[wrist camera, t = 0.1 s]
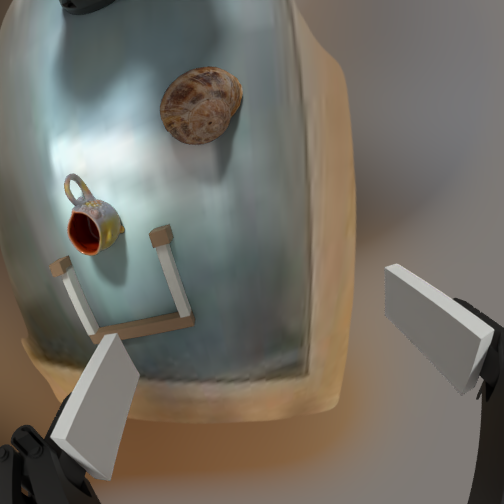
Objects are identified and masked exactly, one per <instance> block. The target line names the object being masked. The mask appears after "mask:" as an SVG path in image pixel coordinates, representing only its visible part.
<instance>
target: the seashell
mask: <svg viewBox="0 0 504 504" xmlns="http://www.w3.org/2000/svg"><path fill="white" fill-rule="evenodd" d="M242 95H243V90H242V86H241V84H240V83H239V81H238V79H237V78H236V77H235V76H233V75H232V74H230V73H228V72H227V71H225V70H222V69H220V68H217V67H210V66H208V67H201V68H195V69H192V70H190V71H188V72H186V73H184V74H182V75H181V76H179V77H178V78H177V79H176V80H175V81H174V82H173V83H172V84H171V85H170V86H169V87H168V89H167V90H166V92H165V94H164V96H163V98H162V101H161V105H160V115H161V119H162V121H163V124H164V126H165V128H166V130H167V131H168V132H170V134H171V135H172V136H173V137H174V138H176V139H177V140H179V141H180V142H183V143H186V144H192V145H199V144H205V143H208V142H211V141H213V140H215V139H216V138H218V137H219V136H220V135H221V134H222V133H223V132H224V131H225V130H226V129H227V127H228V125H229V122H230V118H231V117H232V116H233V115H234V113H235V112H236V110H237V109H238V108H239V107H240V103H241V99H242Z"/></svg>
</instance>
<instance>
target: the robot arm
mask: <svg viewBox="0 0 504 504" xmlns="http://www.w3.org/2000/svg"><path fill="white" fill-rule="evenodd" d="M114 1H115V0H59V2H60V4H61V6H62V7H63V8H64V9H65V10H66V11H67V12H69V13H71V14H76V15H79V14H86V13H90V12H93V11H96V10H99V9H101V8H103V7H105V6H107V5H109V4H110V3H112V2H114ZM385 316H386V317H387V318H388V319H389V320H390V321H391V322H392V323H393V324H394V325H395V326H396V327H397V328H398V329H399V330H400V331H401V332H402V333H403V334H404V335H405V336H406V337H407V338H408V339H409V340H410V341H411V342H412V343H413V344H414V345H415V346H416V347H417V348H418V349H419V351H420V352H421V353H422V354H423V355H424V356H425V357H426V358H427V359H428V360H429V361H430V362H431V363H432V364H433V365H434V366H435V367H436V368H437V370H438V371H439V372H440V373H441V374H442V375H443V376H444V377H445V378H446V379H447V380H448V382H449V383H450V384H451V385H452V386H453V387H454V388H455V389H456V390H457V391H458V393H459V394H460V395H461V396H462V395H464V394H465V393H467V392H468V391H469V390H471V389H472V388H474V387H475V385H476V383H477V380H478V378H479V375H480V376H481V377H482V378H483V379H484V381H483V383H482V386H481V388H480V390H479V392H478V394H477V398H476V399H479V397H480V395H481V393H482V410H481V428H480V439H479V448H478V455H477V462H476V468H475V473H474V478H473V483H472V488H471V492H470V496H469V500H468V504H504V328H503V327H502V326H500V325H499V324H497V323H496V322H495V321H493V320H492V319H490V318H489V317H488V316H486V315H485V314H483V313H482V312H481V313H480V311H479V310H477V309H476V308H474V307H473V306H472V305H470V304H469V303H467V302H466V301H463V300H460V299H457V298H454V299H451V298H450V297H448V296H447V295H445V294H444V293H442V292H441V291H439V290H438V289H436V288H435V287H433V286H432V285H430V284H429V283H427V282H426V281H424V280H422V279H421V278H419V277H418V276H416V275H415V274H413V273H412V272H410V271H408V270H407V269H405V268H404V267H402V266H400V265H399V264H394V265H391V266H388V267H385ZM139 377H140V375H139V373H138V371H137V369H136V368H135V366H134V364H133V362H132V360H131V359H130V357H129V355H128V353H127V351H126V349H125V347H124V345H123V343H122V341H121V340H120V338H119V336H118V334H117V333H114V334H108V335H104V337H103V339H102V340H101V342H100V344H99V345H98V347H97V349H96V351H95V352H94V354H93V356H92V357H91V359H90V361H89V363H88V364H87V366H86V368H85V370H84V372H83V373H82V375H81V377H80V379H79V381H78V382H77V384H76V386H75V388H74V390H73V392H71V393H70V394H69V395H68V396H67V397H66V398H65V399H64V400H63V402H62V404H61V406H60V408H59V409H60V410H58V412H57V414H56V417H55V418H54V420H53V422H52V424H51V426H50V428H49V430H48V432H47V434H46V436H45V439H43V438H42V437H41V436H40V435H39V434H38V432H37V431H36V430H35V429H34V428H33V427H32V426H30V425H23V426H21V427H19V428H18V429H17V430H16V431H15V432H14V433H13V435H12V438H11V444H12V445H13V446H14V447H15V448H16V449H17V450H18V451H19V452H17V451H16V450H15V449H14V448H13V447H12V446H10V445H3V446H1V447H0V504H101V503H100V501H99V499H98V498H97V496H96V494H95V492H94V490H93V488H92V486H91V484H90V482H89V481H88V480H87V479H86V478H85V477H84V476H85V473H86V472H88V473H89V474H90V475H91V476H92V477H94V478H95V479H101V480H108V481H110V480H111V476H112V472H113V468H114V463H115V459H116V455H117V451H118V448H119V443H120V440H121V436H122V433H123V429H124V426H125V422H126V419H127V415H128V412H129V409H130V405H131V402H132V399H133V395H134V392H135V389H136V386H137V383H138V380H139ZM21 487H23V488H24V489H25V490H27V491H28V496H26V495H24V494H23V493H22V492H21Z"/></svg>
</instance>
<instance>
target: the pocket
mask: <svg viewBox="0 0 504 504" xmlns="http://www.w3.org/2000/svg"><path fill="white" fill-rule="evenodd" d="M149 236H150V240H151V243H152V246H153V248H156V251H157V254H158V257H159V260H160V263H161V266H162V269H163V272H164V275H165V277H166V280H167V283H168V286H169V289H170V291H171V294H172V297H173V299H174V302H175V305H176V307H177V310H178V312H175V313H170V314H165V315H161V316H156V317H151V318H146V319H141V320H137V321H132V322H127V323H121V324H116V325H111V326H106V327H100V328H99V326H98V324H97V322H96V319H95V317H94V315H93V313H92V311H91V309H90V307H89V305H88V302H87V300H86V298H85V296H84V293H83V291H82V289H81V286H80V284H79V281H78V279H77V276H76V274H75V271H74V269H73V266H72V263H71V261H70V258H69V256H66V257H63V258H61V259H58V260H57V261H55V262H54V263H52V264H51V265H49V267H50V269H51V272H52V275H53V277H56V276H59V275H61V277H62V279H63V282H64V284H65V287H66V289H67V291H68V294H69V296H70V298H71V300H72V303H73V305H74V307H75V309H76V311H77V313H78V315H79V318H80V320H81V322H82V324H83V326H84V328H85V330H86V331H87V333H88V335H89V336H90V338H91V340H92V341H93V343H94V344H99V343H100V342H101V340H102V339H103V337H104V335H108V334H114V333H117V334H118V336H119V338H120V340H124V339H130V338H136V337H141V336H147V335H152V334H157V333H163V332H168V331H173V330H178V329H182V328H187V327H192V326H194V324H195V317H194V315H193V312H192V309H191V307H190V304H189V301H188V298H187V295H186V293H185V290H184V287H183V284H182V281H181V278H180V275H179V272H178V269H177V266H176V263H175V260H174V257H173V254H172V251H171V248H170V245H169V243H170V242H171V241H172V239H173V238H174V237H173V234H172V230H171V227H170V224H169V225H165V226H162V227H158V228H155V229H153V230H152V231H151V232H150V233H149Z"/></svg>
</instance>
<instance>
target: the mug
mask: <svg viewBox="0 0 504 504" xmlns="http://www.w3.org/2000/svg"><path fill="white" fill-rule="evenodd" d="M70 180H74V181H75V182H76V183H77V184H78V185H79V187H80V188H81V190H82V192H83V194H84V197H85V199H84V198H83V197H79V198H78V199H77V200H76V199H75V198H74V196H73V194H72V193H71V190H70ZM64 189H65V193H66V195H67V197H68V199H69V200H70V201H71V202H72V203H73V204H74V205H75V207H74V208H73V209H72V214H71V217H70V219H69V222H68V227H67V234H68V237H69V239H70V241H71V243H72V244H73V245H74V247H75V248H76V249H77V250H78V251H79V252H81V253H82V254H85V255H90V256H92V255H97V254H98V253H99V252H100V251H103V250H105V249H107V248H109V247H110V246H111V245H112V244H113V243H114V242H115V241H116V240H117V238H118V236H119V234H120V233H123V232H124V231H125V229H124V227H123V226H122V225H121V222H120V218H119V215H118V213H117V211H116V210H115V209H114V208H113V207H112V206H111V205H110V204H108V203H107V202H104V201H102V200H96V199H95V197H94V196H93V195H92V193H91V192H90V190H89V189H88V187H87V186H86V184H85V183H84V182H83V180H82V179H81V178H80V177H79V176H78V175H76V174H69V175H68V176H67V177H66V179H65V183H64Z"/></svg>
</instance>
